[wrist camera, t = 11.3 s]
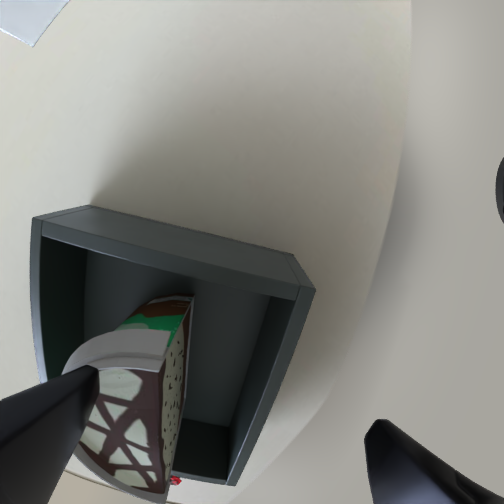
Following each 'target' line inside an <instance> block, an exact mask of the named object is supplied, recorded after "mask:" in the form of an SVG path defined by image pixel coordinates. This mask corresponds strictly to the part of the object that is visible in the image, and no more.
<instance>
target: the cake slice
mask: <svg viewBox="0 0 504 504" xmlns="http://www.w3.org/2000/svg"><path fill="white" fill-rule="evenodd" d="M194 297H195V294H189V293H173V294H167V295H162V296H157V297H155V298H153V299H151V300H150V301H148V302H146V303H144V304H142V305H141V306H139V307H138V308H137V309H136V310H135V311H134V312H133V313H132V314H131V315H130V316H129V317H128V318H127V319H126V320H125V321H124V322H123V323H122V324H121V325H120V326H119V327H118V328H117V329H116V330H115V331H114V332H108V333H105V334H103V335H100V336H97V337H94V338H92V339H90V340H89V341H87V342H85V343H84V344H82V345H81V346H80V347H79V348H78V349H77V350H76V351H75V352H74V353H73V354H72V355H71V356H70V358H69V360H68V361H67V363H66V365H65V367H64V370H63V372H62V375H63V374H65V373H67V372H70V371H72V370H74V369H77V368H79V367H81V366H84V365H90V366H93V367H95V368H97V369H98V370H99V377H100V392H99V395H98V398H97V400H96V403H95V405H94V408H93V410H92V413H91V415H90V418H89V420H88V423H87V426H86V428H85V431H84V433H83V435H82V437H81V439H80V440H79V442H78V444H77V446H76V448H75V450H74V452H73V454H74V455H75V456H76V457H77V459H78V460H79V461H80V462H81V463H82V464H83V465H85V466H86V467H87V468H88V469H89V470H90V471H91V472H93V473H94V474H95V475H97V476H98V477H99V478H101V479H102V480H104V481H105V482H107V483H108V484H110V485H112V486H114V487H115V488H117V489H119V490H121V491H123V492H125V493H127V494H130V495H132V496H135V497H137V498H140V499H143V500H146V501H149V502H152V503H156V504H165V503H166V500H167V496H168V491H169V487H170V484H169V481H170V476H171V470H172V465H173V460H174V454H175V449H176V444H177V439H178V434H179V429H180V424H181V419H182V414H183V410H184V405H185V400H186V388H187V374H188V361H189V349H190V338H191V327H192V317H193V307H194Z"/></svg>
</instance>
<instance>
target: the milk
mask: <svg viewBox="0 0 504 504" xmlns="http://www.w3.org/2000/svg"><path fill="white" fill-rule="evenodd" d="M68 1H69V0H0V30H1V31H3V32H5V33H7V34H9V35H11V36H13V37H15V38H17V39H19V40H21V41H23V42H24V43H26V44H28V45H30V46H32V47H33V46H34V45H35V43H36V42H37V40H38V39H39V38H40V36H41V35H42V34H43V32H44V31H45V30H46V28H47V27H48V26H49V24H50V23H51V22H52V20H53V19H54V18H55V17H56V15H57V14H58V13H59V12H60V11H61V9H62V8H63V7H64V6H65V5H66V4H67V2H68Z"/></svg>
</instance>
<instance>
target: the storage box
mask: <svg viewBox="0 0 504 504" xmlns="http://www.w3.org/2000/svg"><path fill="white" fill-rule="evenodd" d="M315 292H316V288H315V287H314V285H313V284H312V282H311V281H310V279H309V278H308V276H307V275H306V273H305V272H304V270H303V269H302V267H301V266H300V264H299V263H298V261H297V260H296V258H295V257H294V255H293V254H290V253H286V252H282V251H278V250H274V249H270V248H266V247H262V246H258V245H254V244H250V243H246V242H241V241H237V240H233V239H229V238H225V237H221V236H217V235H213V234H209V233H205V232H201V231H196V230H192V229H188V228H184V227H180V226H176V225H172V224H167V223H163V222H159V221H155V220H151V219H147V218H142V217H138V216H134V215H130V214H126V213H121V212H117V211H113V210H109V209H104V208H100V207H96V206H92V205H85V206H80V207H75V208H71V209H66V210H62V211H57V212H53V213H49V214H45V215H40V216H36V217H33V218H32V226H31V242H30V301H31V317H32V329H33V339H34V347H35V354H36V361H37V368H38V373H39V379H40V384H41V383H44V382H46V381H48V380H51V379H53V378H56V377H58V376H60V375H62V372H63V370H64V367H65V365H66V363H67V361H68V360H69V358H70V356H71V355H72V354H73V353H74V352H75V351H76V350H77V349H78V348H79V347H80V346H81V345H82V344H84V343H85V342H87V341H89V340H90V339H92V338H94V337H97V336H100V335H103V334H105V333H108V332H114V331H115V330H116V329H117V328H118V327H119V326H120V325H121V324H122V323H123V322H124V321H125V320H126V319H127V318H128V317H129V316H130V315H131V314H132V313H133V312H134V311H135V310H136V309H137V308H138V307H139V306H141V305H142V304H144V303H146V302H148V301H150V300H151V299H153V298H155V297H157V296H162V295H167V294H173V293H189V294H195V297H194V307H193V317H192V327H191V338H190V349H189V361H188V374H187V388H186V400H185V405H184V410H183V414H182V419H181V424H180V429H179V434H178V439H177V444H176V449H175V454H174V460H173V465H172V470H171V475H173V476H177V477H182V478H187V479H192V480H197V481H202V482H208V483H214V484H221V485H229V486H236V484H237V482H238V480H239V478H240V476H241V474H242V472H243V470H244V468H245V465H246V463H247V461H248V459H249V457H250V455H251V453H252V451H253V448H254V446H255V444H256V442H257V440H258V438H259V435H260V433H261V431H262V429H263V426H264V424H265V422H266V419H267V417H268V415H269V412H270V410H271V408H272V405H273V403H274V401H275V398H276V396H277V393H278V391H279V389H280V386H281V384H282V381H283V379H284V376H285V374H286V371H287V369H288V366H289V363H290V361H291V358H292V356H293V353H294V350H295V348H296V345H297V342H298V340H299V337H300V334H301V332H302V329H303V326H304V323H305V321H306V318H307V315H308V312H309V309H310V306H311V303H312V301H313V298H314V295H315Z"/></svg>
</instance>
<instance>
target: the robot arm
mask: <svg viewBox="0 0 504 504" xmlns="http://www.w3.org/2000/svg"><path fill="white" fill-rule="evenodd" d="M503 214H504V206H503ZM99 392H100V377H99V370H98V369H97V368H95V367H93V366H90V365H84V366H81V367H79V368H77V369H74V370H72V371H70V372H67V373H65V374H63V375H60V376H58V377H56V378H53V379H51V380H48V381H46V382H44V383H41V384H39V385H36V386H34V387H32V388H29V389H27V390H24V391H22V392H19V393H17V394H14V395H12V396H9V397H7V398H4V399H2V400H1V401H0V504H47V503H48V502H49V499H50V497H51V495H52V493H53V491H54V489H55V487H56V485H57V483H58V481H59V479H60V477H61V475H62V473H63V471H64V469H65V467H66V465H67V463H68V461H69V459H70V457H71V456H72V454H73V452H74V450H75V448H76V446H77V444H78V442H79V440H80V439H81V437H82V435H83V433H84V431H85V428H86V426H87V423H88V420H89V418H90V415H91V413H92V410H93V408H94V405H95V403H96V400H97V398H98V395H99ZM364 444H365V453H366V462H367V472H368V478H369V483H370V488H371V493H372V498H373V503H374V504H504V498H503V497H501V496H499V495H496V494H495V493H493V492H491V491H489V490H487V489H486V488H484V487H482V486H480V485H478V484H477V483H475V482H473V481H471V480H470V479H468V478H467V477H465V476H464V475H462V474H461V473H460V472H458V471H457V470H455V469H454V468H452V467H451V466H450V465H448V464H447V463H445V462H444V461H443V460H441V459H440V458H438V457H437V456H436V455H434V454H433V453H431V452H430V451H429V450H427V449H426V448H425V447H423V446H422V445H421V444H419V443H418V442H416V441H415V440H414V439H413V438H411V437H410V436H408V435H407V434H406V433H405V432H403V431H402V430H401V429H399V428H398V427H397V426H395V425H394V424H393V423H391V422H390V421H389V420H387V419H377V420H376V421H375V422H374V423H373V425H372V426H371V428H370V429H369V431H368V432H367V433H366V435H365V438H364Z"/></svg>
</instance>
